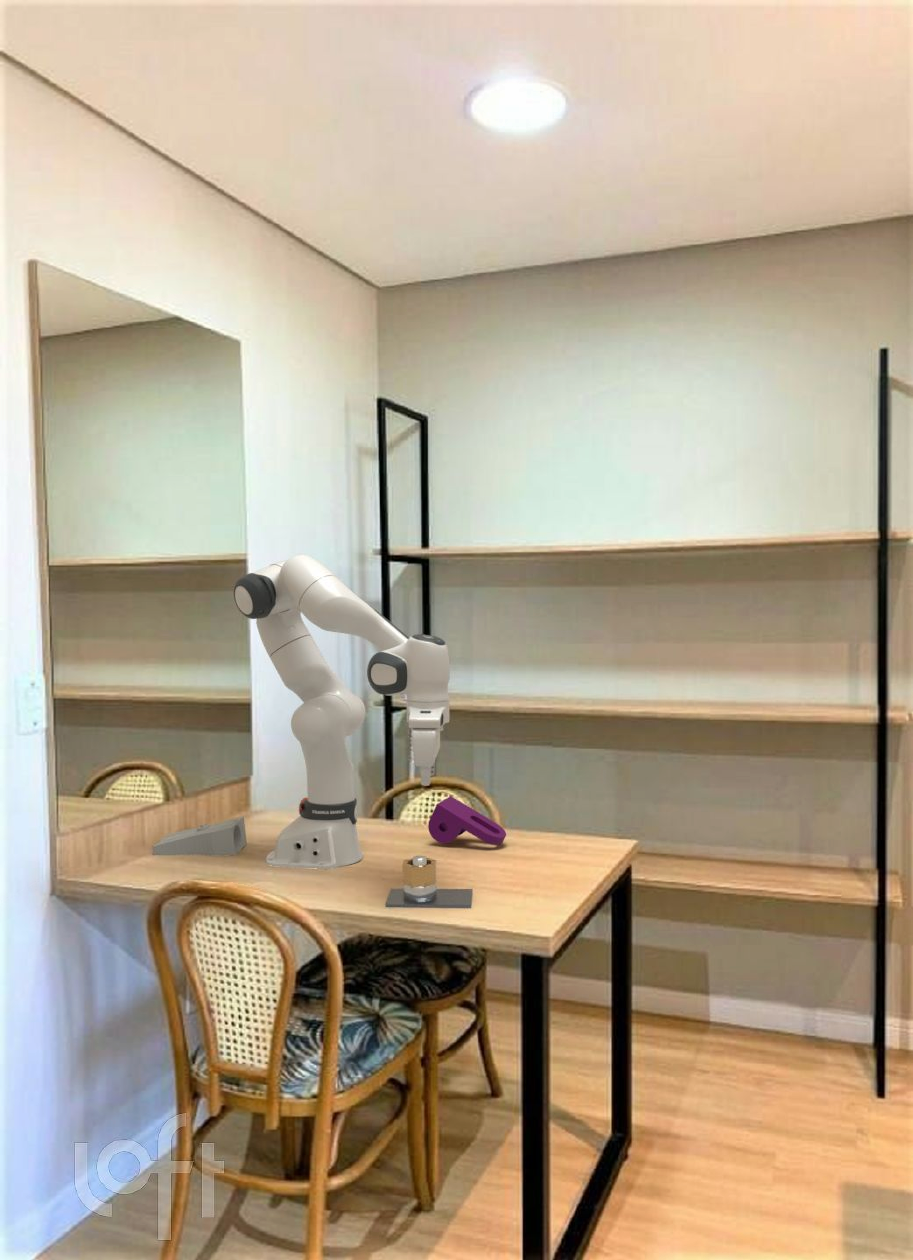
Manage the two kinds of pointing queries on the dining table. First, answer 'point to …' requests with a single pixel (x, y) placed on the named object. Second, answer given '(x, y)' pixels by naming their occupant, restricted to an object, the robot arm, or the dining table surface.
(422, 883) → the ring
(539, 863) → the dining table surface
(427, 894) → the base with metal peg
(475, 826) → the mounting bracket
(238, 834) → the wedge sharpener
